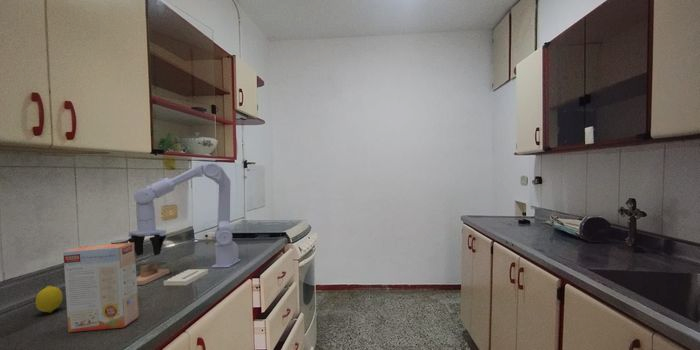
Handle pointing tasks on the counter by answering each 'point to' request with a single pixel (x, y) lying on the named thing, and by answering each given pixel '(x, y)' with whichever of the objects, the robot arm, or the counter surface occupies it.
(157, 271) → the stub
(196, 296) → the counter surface
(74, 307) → the cracker box
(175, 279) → the board
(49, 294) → the lemon
